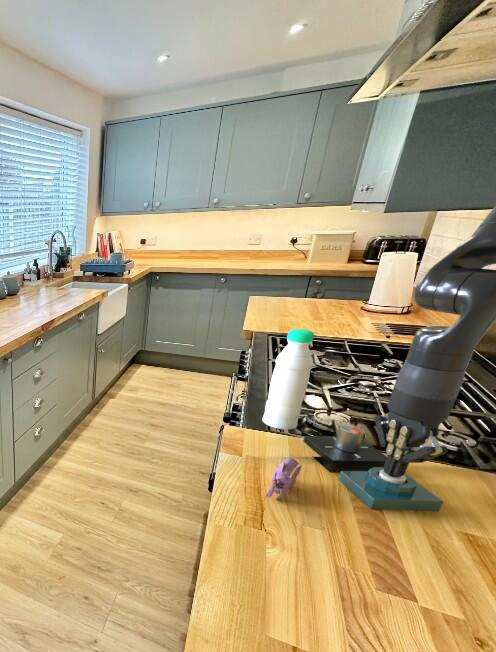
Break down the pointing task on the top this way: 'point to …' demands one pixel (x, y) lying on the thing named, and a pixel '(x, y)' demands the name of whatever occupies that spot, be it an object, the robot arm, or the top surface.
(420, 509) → the button base
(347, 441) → the lock knob
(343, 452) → the lock base
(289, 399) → the white milk bottle
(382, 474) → the white push button
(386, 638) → the top surface
